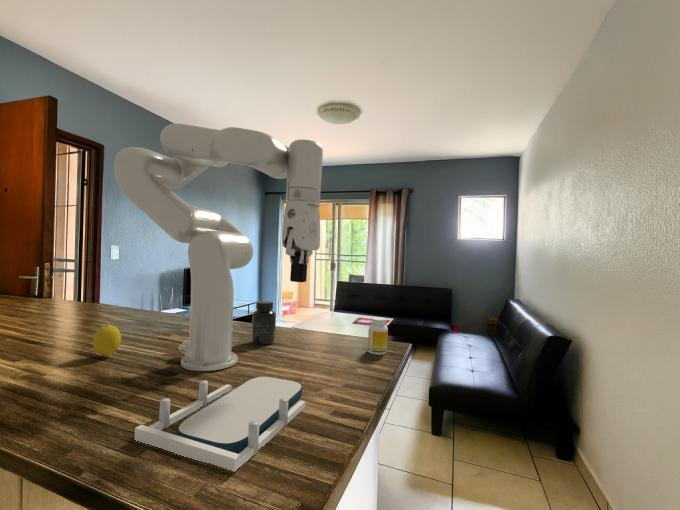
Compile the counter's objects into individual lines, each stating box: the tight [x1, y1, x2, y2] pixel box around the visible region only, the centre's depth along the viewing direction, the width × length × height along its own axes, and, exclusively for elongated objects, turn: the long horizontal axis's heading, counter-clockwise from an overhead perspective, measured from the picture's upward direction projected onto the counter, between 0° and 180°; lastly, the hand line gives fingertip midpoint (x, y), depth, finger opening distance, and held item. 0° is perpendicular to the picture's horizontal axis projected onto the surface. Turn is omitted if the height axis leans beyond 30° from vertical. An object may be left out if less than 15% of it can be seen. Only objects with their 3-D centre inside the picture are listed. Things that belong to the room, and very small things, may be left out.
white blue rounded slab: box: [176, 376, 303, 454], centre depth 56 cm, size 24×12×2 cm, turn 162°
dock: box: [134, 379, 307, 472], centre depth 53 cm, size 17×20×4 cm
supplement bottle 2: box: [367, 316, 389, 356], centre depth 94 cm, size 5×5×10 cm
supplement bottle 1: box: [250, 300, 277, 346], centre depth 99 cm, size 7×7×12 cm
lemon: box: [92, 323, 122, 358], centre depth 80 cm, size 6×6×8 cm
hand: (298, 281), depth 74 cm, fingers closed
